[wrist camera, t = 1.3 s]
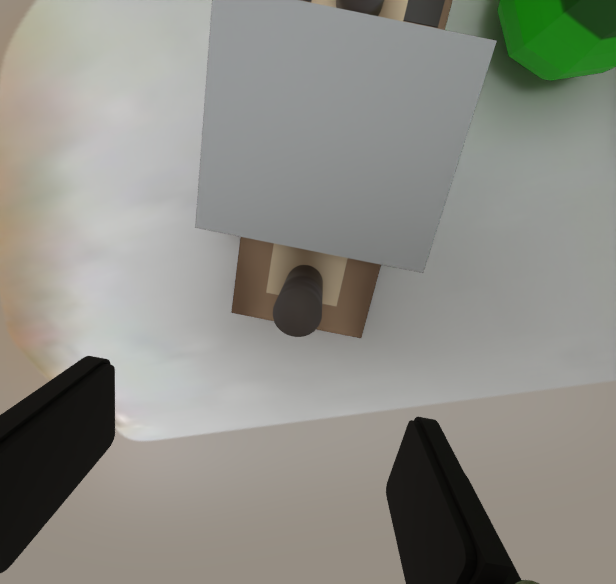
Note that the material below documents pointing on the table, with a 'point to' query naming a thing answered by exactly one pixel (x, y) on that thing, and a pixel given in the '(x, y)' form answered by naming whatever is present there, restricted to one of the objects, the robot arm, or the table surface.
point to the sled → (309, 264)
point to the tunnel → (333, 128)
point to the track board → (358, 274)
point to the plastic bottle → (560, 36)
